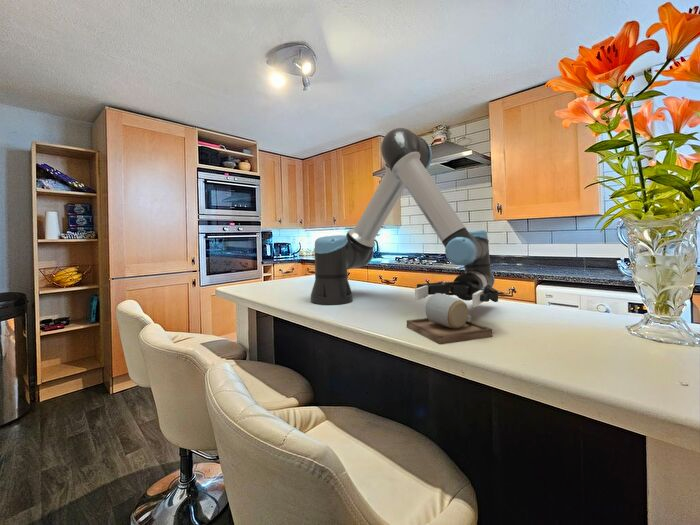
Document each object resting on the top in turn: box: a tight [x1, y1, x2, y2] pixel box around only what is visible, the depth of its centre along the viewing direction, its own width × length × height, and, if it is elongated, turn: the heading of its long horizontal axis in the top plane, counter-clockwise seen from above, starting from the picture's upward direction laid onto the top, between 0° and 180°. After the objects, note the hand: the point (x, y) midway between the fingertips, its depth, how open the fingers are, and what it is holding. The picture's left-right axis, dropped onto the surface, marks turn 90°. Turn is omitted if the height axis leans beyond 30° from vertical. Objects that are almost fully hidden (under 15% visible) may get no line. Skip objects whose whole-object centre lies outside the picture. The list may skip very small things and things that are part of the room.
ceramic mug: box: [424, 293, 472, 329], centre depth 77 cm, size 10×8×7 cm
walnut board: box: [406, 317, 493, 345], centre depth 76 cm, size 14×14×2 cm
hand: (443, 297), depth 74 cm, fingers open, 13 cm apart
